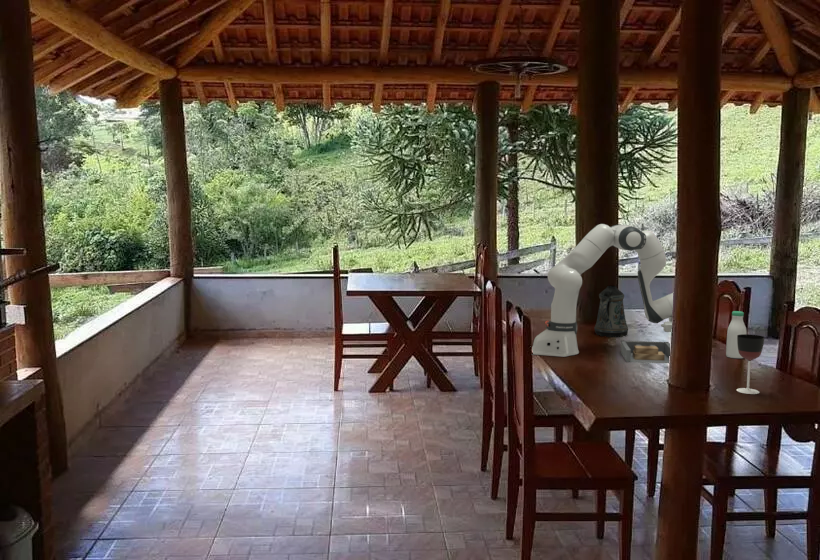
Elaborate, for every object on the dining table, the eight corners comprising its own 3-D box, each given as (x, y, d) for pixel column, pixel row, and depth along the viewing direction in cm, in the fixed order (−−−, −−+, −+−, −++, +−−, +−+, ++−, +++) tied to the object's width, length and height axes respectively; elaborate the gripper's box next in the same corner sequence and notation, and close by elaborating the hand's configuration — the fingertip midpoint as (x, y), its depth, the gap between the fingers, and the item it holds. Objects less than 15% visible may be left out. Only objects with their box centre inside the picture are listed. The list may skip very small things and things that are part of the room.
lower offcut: (634, 359, 293) (634, 353, 293) (632, 356, 299) (632, 350, 299) (664, 360, 291) (664, 354, 291) (661, 357, 297) (662, 351, 297)
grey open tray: (626, 365, 289) (626, 350, 288) (620, 354, 308) (620, 340, 307) (676, 367, 286) (677, 351, 285) (667, 356, 305) (668, 341, 304)
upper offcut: (635, 353, 293) (636, 348, 293) (634, 351, 298) (634, 345, 298) (658, 354, 292) (658, 348, 291) (656, 351, 297) (656, 346, 296)
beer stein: (625, 331, 360) (627, 284, 357) (630, 339, 341) (632, 289, 339) (592, 330, 363) (594, 283, 360) (596, 338, 344) (597, 288, 341)
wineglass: (764, 394, 246) (767, 339, 243) (738, 393, 247) (740, 338, 245) (757, 388, 253) (760, 334, 251) (731, 387, 255) (734, 334, 252)
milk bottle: (747, 359, 299) (750, 313, 296) (728, 358, 300) (730, 312, 298) (742, 355, 306) (745, 310, 304) (724, 354, 308) (726, 310, 305)
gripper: (660, 317, 310) (666, 323, 297) (708, 318, 307) (716, 324, 293) (659, 331, 311) (665, 337, 298) (708, 332, 308) (716, 338, 294)
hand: (691, 330), depth 296 cm, fingers closed on birch strip, 3 cm apart
